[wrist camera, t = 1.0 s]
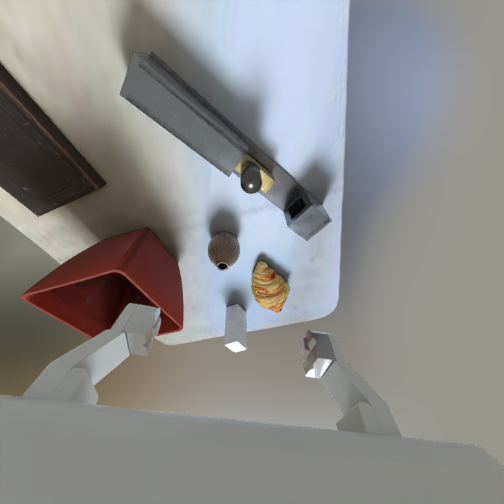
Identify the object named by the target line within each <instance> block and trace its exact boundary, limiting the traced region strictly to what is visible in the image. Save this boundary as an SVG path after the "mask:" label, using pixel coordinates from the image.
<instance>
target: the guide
mask: <svg viewBox="0 0 504 504" xmlns="http://www.w3.org/2000/svg"><path fill="white" fill-rule="evenodd" d="M120 95H121V96H122V97H124V98H125V99H126V100H128V101H129V102H130V103H132V104H133V105H134V106H136V107H137V108H138V109H140V110H141V111H142V112H143V113H145V114H146V115H147V116H149V117H150V118H151V119H153V120H154V121H155V122H157V123H158V124H159V125H161V126H162V127H163V128H165V129H166V130H167V131H169V132H170V133H171V134H173V135H174V136H175V137H177V138H178V139H179V140H181V141H182V142H183V143H185V144H186V145H187V146H189V147H190V148H191V149H193V150H194V151H195V152H197V153H198V154H199V155H200V156H202V157H203V158H204V159H206V160H207V161H208V162H210V163H211V164H212V165H214V166H215V167H216V168H218V169H219V170H220V171H222V172H223V173H224V174H226V175H227V176H228V177H229V176H230V175H231V173H232V172H233V173H234V174H236V175H237V176H238V177H240V178H241V174H240V173H239V172H238V171H237V170H235V168H236V167H237V165H238V164H239V163H240V161H241V160H242V159H243V158H244V156H245V155H246V154H248V155H249V156H251V157H252V158H253V159H254V160H255V161H256V162H258V163H259V164H260V165H261V166H262V167H264V168H265V169H266V170H267V171H268V172H269V173H271V174H272V175H273V176H274V179H275V183H274V184H273V185H272V186H271V188H270V189H269V190H268V191H267V192H266V193H264V192H263V191H262V190H261V189H260V190H259V191H258V192H259V193H260V194H262V195H263V196H264V197H265V198H267V199H268V200H269V201H271V202H272V203H273V204H274V205H276V206H277V207H278V208H280V209H281V210H282V211H283V212H284V215H285V219H286V222H287V225H288V227H289V228H290V229H291V230H293V231H294V232H296V233H297V234H298V235H300V236H301V237H302V238H304V239H305V240H306V241H308V240H309V239H310V238H311V237H313V236H314V235H315V234H316V233H318V232H319V231H320V230H321V229H322V228H324V227H325V226H326V225H327V224H329V223H330V222H331V219H330V217H329V216H328V214H327V212H326V210H325V209H324V207H323V205H322V204H321V203H319V202H318V201H317V200H316V199H315V198H314V197H313V196H312V195H311V194H309V193H308V192H307V191H306V190H305V189H304V188H303V187H302V186H300V185H299V184H298V183H297V182H296V181H295V180H294V179H293V178H292V177H290V176H289V175H288V174H287V173H286V172H285V171H284V170H283V169H282V168H280V167H279V166H278V165H277V164H276V163H275V162H274V161H273V160H272V159H270V158H269V157H268V156H267V155H266V154H265V153H264V152H263V151H261V150H260V149H259V148H258V147H257V146H256V145H255V144H254V143H253V142H251V141H250V140H249V139H248V138H247V137H246V136H245V135H244V134H243V133H241V132H240V131H239V130H238V129H237V128H236V127H235V126H234V125H233V124H231V123H230V122H229V121H228V120H227V119H226V118H225V117H224V116H223V115H221V114H220V113H219V112H218V111H217V110H216V109H215V108H214V107H212V106H211V105H210V104H209V103H208V102H207V101H206V100H205V99H204V98H202V97H201V96H200V95H199V94H198V93H197V92H196V91H195V90H194V89H192V88H191V87H190V86H189V85H188V84H187V83H186V82H185V81H184V80H182V79H181V78H180V77H179V76H178V75H177V74H176V73H175V72H174V71H172V70H171V69H170V68H169V67H168V66H167V65H166V64H165V63H163V62H162V61H161V60H160V59H159V58H158V57H157V56H156V55H155V54H153V53H152V52H151V55H149V54H143V53H136V52H134V53H133V56H132V59H131V62H130V65H129V68H128V71H127V74H126V77H125V80H124V82H123V85H122V88H121V91H120Z"/></svg>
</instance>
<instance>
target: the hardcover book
mask: <svg viewBox="0 0 504 504" xmlns="http://www.w3.org/2000/svg"><path fill="white" fill-rule="evenodd" d="M105 184H106V182H105V181H104V180H103V179H102V178H101V177H100V176H99V174H98V173H97V172H96V171H95V170H94V169H93V168H92V166H91V165H90V164H89V163H88V162H87V161H86V160H85V159H84V157H83V156H82V155H81V154H80V153H79V152H78V151H77V150H76V148H75V147H74V146H73V145H72V144H71V143H70V142H69V141H68V139H67V138H66V137H65V136H64V135H63V134H62V133H61V132H60V130H59V129H58V128H57V127H56V126H55V125H54V124H53V123H52V121H51V120H50V119H49V118H48V117H47V116H46V115H45V114H44V112H43V111H42V110H41V109H40V108H39V107H38V106H37V104H36V103H35V102H34V101H33V100H32V99H31V98H30V97H29V95H28V94H27V93H26V92H25V91H24V90H23V89H22V88H21V86H20V85H19V84H18V83H17V82H16V81H15V80H14V79H13V77H12V76H11V75H10V74H9V73H8V72H7V71H6V70H5V68H4V67H3V66H2V65H1V64H0V187H2V188H3V189H4V190H5V191H7V192H8V193H9V194H10V195H12V196H13V197H14V198H15V199H17V200H18V201H19V202H20V203H22V204H23V205H24V206H26V207H27V208H28V209H29V210H31V211H32V212H33V213H34V214H36V215H37V216H38V217H39V216H41V215H43V214H46V213H48V212H50V211H52V210H54V209H56V208H59V207H61V206H63V205H65V204H67V203H69V202H72V201H74V200H76V199H78V198H80V197H82V196H85V195H87V194H89V193H91V192H93V191H95V190H98V189H100V188H101V187H103V186H104V185H105Z"/></svg>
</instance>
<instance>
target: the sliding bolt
mask: <svg viewBox="0 0 504 504" xmlns="http://www.w3.org/2000/svg"><path fill="white" fill-rule="evenodd" d="M235 170H237V171H238V172H239V173H240V174H241V187H242V189H243V190H244V191H245V192H247V193H250V194H253V193H256V192H258V191H259V190H260V189H261V190H262V191H263V192H264V193H266V192H267V191H268V190H269V189H270V188H271V186H272V185H273V184H274V183H275V179H274V176H273V175H272V174H271V173H269V172H268V171H267V170H266V169H265V168H264V167H262V166H261V165H260V164H259V163H258V162H256V161H255V160H254V159H253V158H252V157H251V156H249V155H248V154H246V155H245V156H244V158H243V159H242V160H241V161H240V163H239V164H238V165H237V167H236V168H235Z"/></svg>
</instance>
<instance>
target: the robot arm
mask: <svg viewBox="0 0 504 504" xmlns="http://www.w3.org/2000/svg"><path fill="white" fill-rule="evenodd" d="M159 315H160V308H156V307H151V306H145V305H140V304H133V303H129V304H128V305H127V306H126V307H125V309H124V310H123V312H122V313H121V315H120V316H119V317H118V319H117V320H116V322H115V323H114V325H113V326H112V328H111V329H110V330H105V331H103V332H102V333H100V334H98V335H97V336H95V337H93V338H92V339H90V340H88V341H87V342H85V343H83V344H81V345H80V346H78V347H76V348H75V349H73V350H71V351H70V352H68V353H66V354H65V355H63V356H61V357H59V358H58V359H56V360H55V361H53V362H51V363H50V364H49V365H48V366H47V367H46V368H45V369H44V371H43V372H42V373H41V374H40V375H39V377H38V378H37V379H36V380H35V381H34V383H33V384H32V385H31V386H30V387H29V389H28V390H27V391H26V392H25V393H24V394H23V396H22V397H19V396H9V395H0V504H504V466H503V465H502V464H501V463H500V462H499V461H498V460H497V459H496V458H494V457H493V456H492V455H491V454H490V453H488V452H487V451H486V450H485V449H483V448H481V447H479V446H475V445H471V444H461V443H452V442H443V441H433V440H424V439H414V438H405V437H402V436H401V434H400V431H399V429H398V427H397V425H396V422H395V420H394V418H393V416H392V414H391V411H390V409H389V407H388V405H387V403H386V402H385V401H384V400H383V399H382V398H381V397H380V396H379V395H378V394H377V393H376V392H375V391H374V389H373V388H372V387H371V386H370V385H369V384H368V383H367V382H366V381H365V380H364V379H363V377H361V375H360V374H359V373H358V372H357V371H356V370H355V369H354V368H353V367H352V366H351V365H350V363H346V360H345V357H344V354H343V352H342V349H341V346H340V344H339V341H338V338H337V336H336V335H335V334H331V333H325V332H318V331H311V330H309V331H307V333H306V338H304V339H303V340H302V342H301V355H302V357H303V358H304V359H305V361H304V363H303V367H304V372H305V376H306V377H313V378H319V379H320V380H321V381H322V383H323V385H324V386H325V388H326V389H327V391H328V392H329V394H330V395H331V397H332V398H333V400H334V401H335V403H336V404H337V406H338V408H339V409H340V411H341V412H342V414H343V415H344V416H343V417H342V418H341V419H340V420H339V421H338V422H337V423H336V425H337V429H338V430H329V429H320V428H311V427H301V426H292V425H283V424H273V423H263V422H254V421H245V420H236V419H226V418H217V417H208V416H198V415H189V414H179V413H170V412H160V411H151V410H142V409H131V408H123V407H112V406H104V405H95V404H96V402H97V400H98V394H97V392H96V390H95V387H94V385H95V384H96V383H97V382H98V381H100V380H101V379H102V378H103V377H104V376H106V375H107V374H108V373H109V372H110V371H112V370H113V369H114V368H115V367H116V366H117V365H119V364H120V363H121V362H122V361H123V360H124V359H126V358H127V357H128V356H129V354H134V355H145V356H148V353H149V351H150V349H151V347H152V345H153V338H154V337H156V336H157V334H158V331H159V328H160V325H161V318H160V316H159Z"/></svg>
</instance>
